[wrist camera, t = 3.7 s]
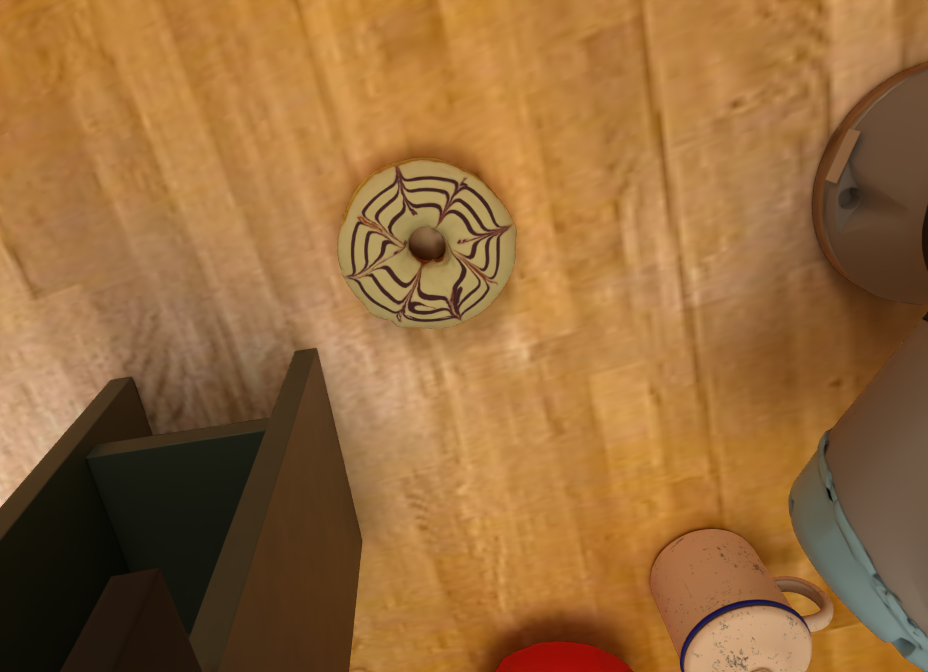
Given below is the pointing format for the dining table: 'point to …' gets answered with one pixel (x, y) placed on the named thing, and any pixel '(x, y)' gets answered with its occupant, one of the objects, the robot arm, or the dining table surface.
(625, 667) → the tomato
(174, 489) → the stand
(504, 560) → the dining table surface
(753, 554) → the teacup with lid
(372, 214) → the decorated donut
